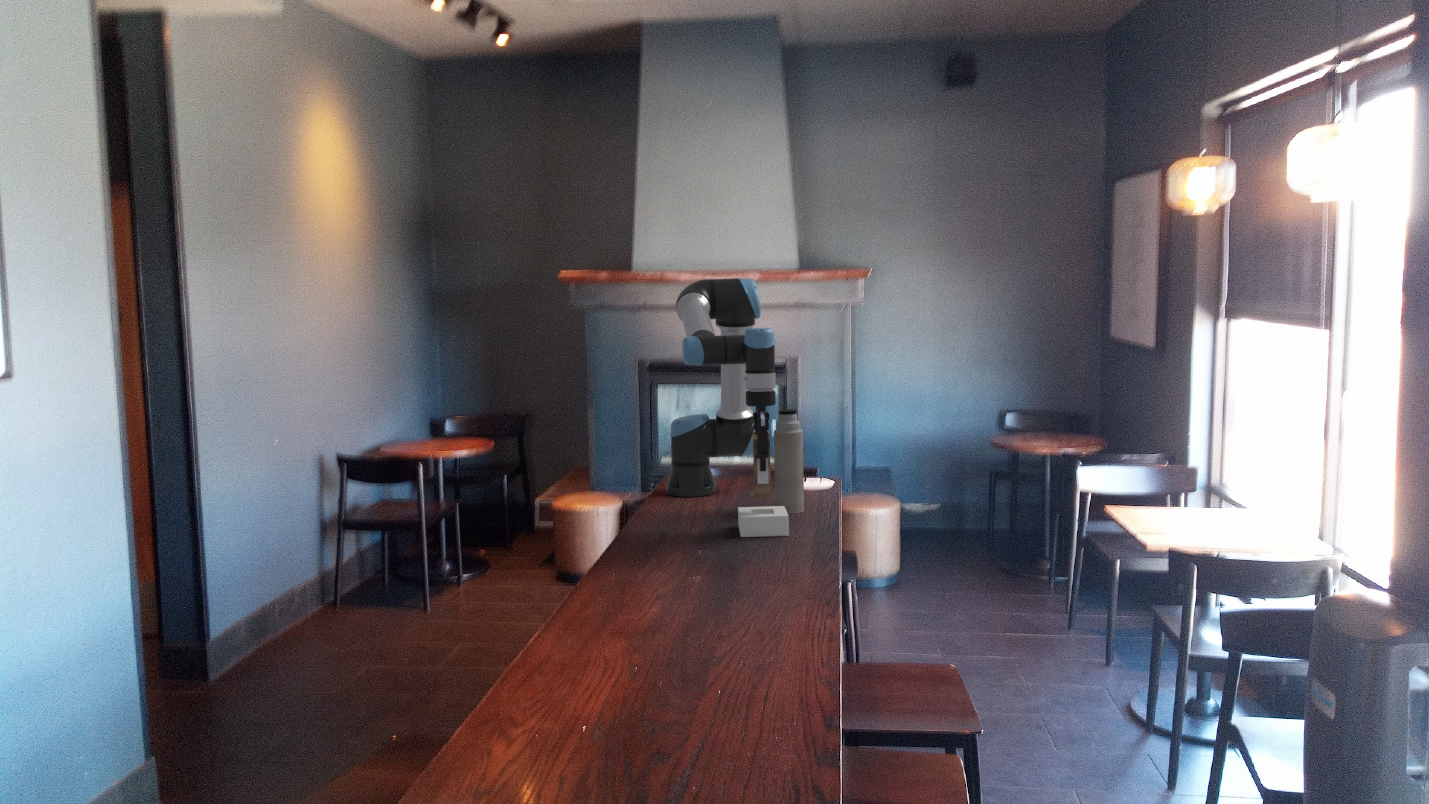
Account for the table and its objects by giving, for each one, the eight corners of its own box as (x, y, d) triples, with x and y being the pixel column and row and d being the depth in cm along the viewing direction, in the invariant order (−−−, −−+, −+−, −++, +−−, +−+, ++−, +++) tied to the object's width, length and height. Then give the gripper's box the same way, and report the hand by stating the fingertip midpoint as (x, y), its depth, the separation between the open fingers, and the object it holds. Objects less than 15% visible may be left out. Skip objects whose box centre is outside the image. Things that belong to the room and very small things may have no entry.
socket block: (738, 526, 275) (738, 507, 275) (784, 524, 275) (784, 505, 275) (740, 537, 263) (740, 517, 263) (788, 535, 263) (788, 515, 263)
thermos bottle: (803, 507, 296) (801, 408, 293) (805, 513, 288) (803, 411, 285) (774, 507, 296) (772, 408, 293) (775, 514, 288) (773, 412, 285)
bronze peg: (753, 494, 270) (752, 432, 268) (769, 494, 270) (768, 431, 268) (754, 497, 266) (753, 434, 264) (771, 497, 266) (770, 434, 264)
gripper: (743, 387, 274) (745, 476, 276) (747, 393, 257) (749, 488, 259) (772, 386, 274) (774, 475, 276) (778, 392, 257) (780, 487, 259)
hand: (762, 481), depth 268 cm, fingers closed on bronze peg, 4 cm apart
